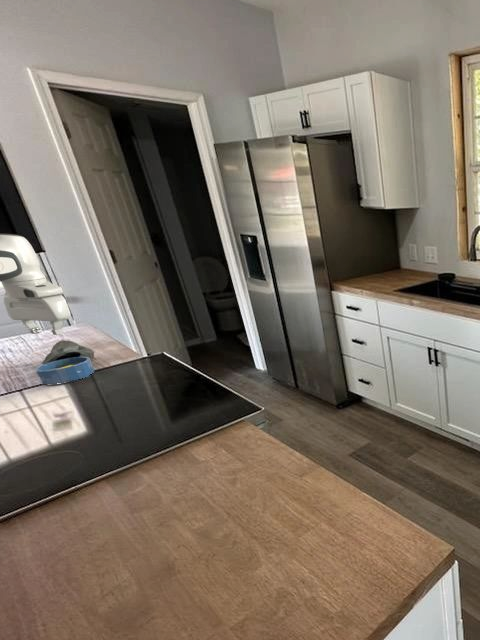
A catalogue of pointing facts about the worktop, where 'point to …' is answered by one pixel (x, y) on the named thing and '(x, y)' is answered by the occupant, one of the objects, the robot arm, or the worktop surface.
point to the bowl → (65, 370)
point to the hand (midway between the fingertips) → (47, 333)
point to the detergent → (68, 351)
